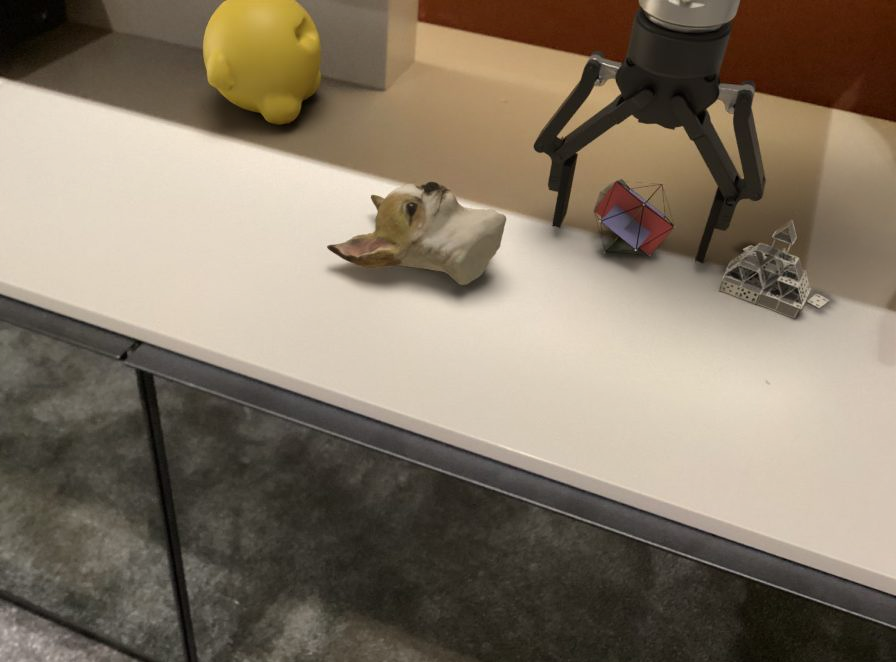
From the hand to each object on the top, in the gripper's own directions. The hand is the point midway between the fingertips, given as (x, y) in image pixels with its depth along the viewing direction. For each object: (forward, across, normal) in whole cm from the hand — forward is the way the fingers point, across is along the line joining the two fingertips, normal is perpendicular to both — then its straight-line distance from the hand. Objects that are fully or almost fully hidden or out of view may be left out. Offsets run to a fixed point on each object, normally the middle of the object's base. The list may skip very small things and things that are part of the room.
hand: (628, 236), depth 90 cm
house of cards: (+1, +14, 0) cm, 14 cm away
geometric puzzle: (+1, 0, 0) cm, 1 cm away
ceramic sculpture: (+1, -17, -10) cm, 20 cm away
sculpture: (+1, -43, +10) cm, 44 cm away
